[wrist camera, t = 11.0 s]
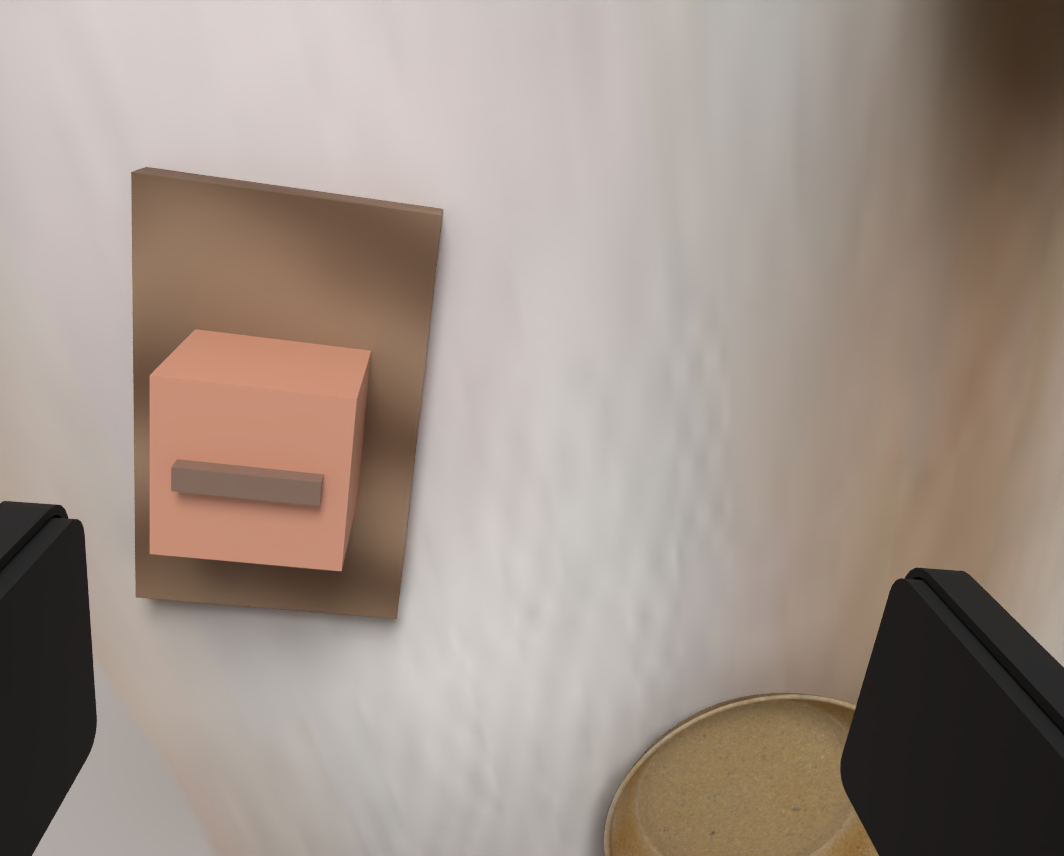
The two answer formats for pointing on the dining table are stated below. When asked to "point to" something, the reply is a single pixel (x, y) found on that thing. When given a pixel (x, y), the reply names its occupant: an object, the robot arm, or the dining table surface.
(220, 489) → the salmon pink cube
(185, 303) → the base
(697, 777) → the plant saucer
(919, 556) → the dining table surface
